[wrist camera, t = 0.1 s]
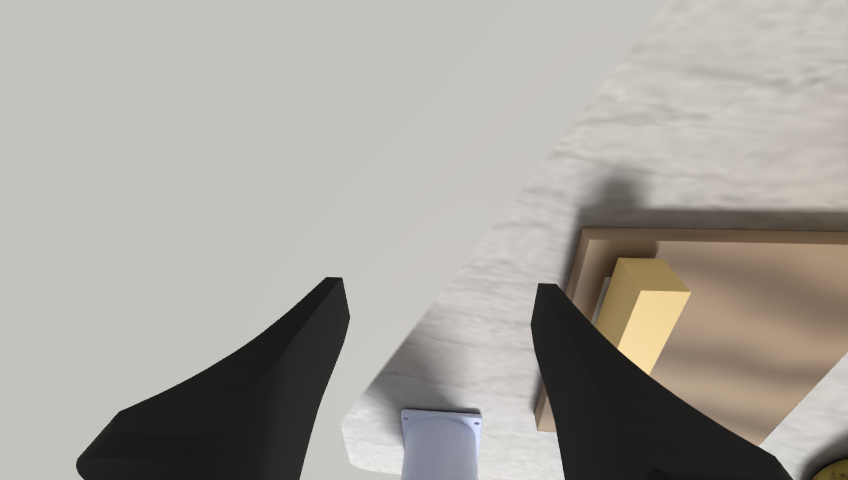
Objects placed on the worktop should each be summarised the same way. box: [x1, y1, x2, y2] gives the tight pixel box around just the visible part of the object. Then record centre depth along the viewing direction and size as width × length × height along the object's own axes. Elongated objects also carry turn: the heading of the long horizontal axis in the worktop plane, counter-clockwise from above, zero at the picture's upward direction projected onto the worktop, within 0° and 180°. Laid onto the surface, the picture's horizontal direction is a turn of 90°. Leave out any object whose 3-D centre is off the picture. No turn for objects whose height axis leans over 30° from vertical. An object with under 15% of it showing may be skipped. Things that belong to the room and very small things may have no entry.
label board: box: [534, 227, 848, 446], centre depth 26 cm, size 21×19×2 cm
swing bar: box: [595, 258, 691, 375], centre depth 24 cm, size 18×3×3 cm, turn 2°
